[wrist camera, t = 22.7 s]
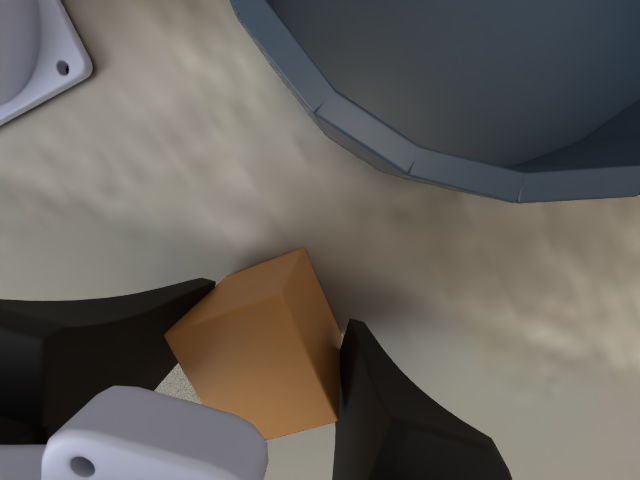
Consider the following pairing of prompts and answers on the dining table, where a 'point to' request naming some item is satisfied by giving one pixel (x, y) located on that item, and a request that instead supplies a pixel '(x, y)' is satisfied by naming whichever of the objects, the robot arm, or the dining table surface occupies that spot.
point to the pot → (469, 89)
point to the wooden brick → (264, 347)
